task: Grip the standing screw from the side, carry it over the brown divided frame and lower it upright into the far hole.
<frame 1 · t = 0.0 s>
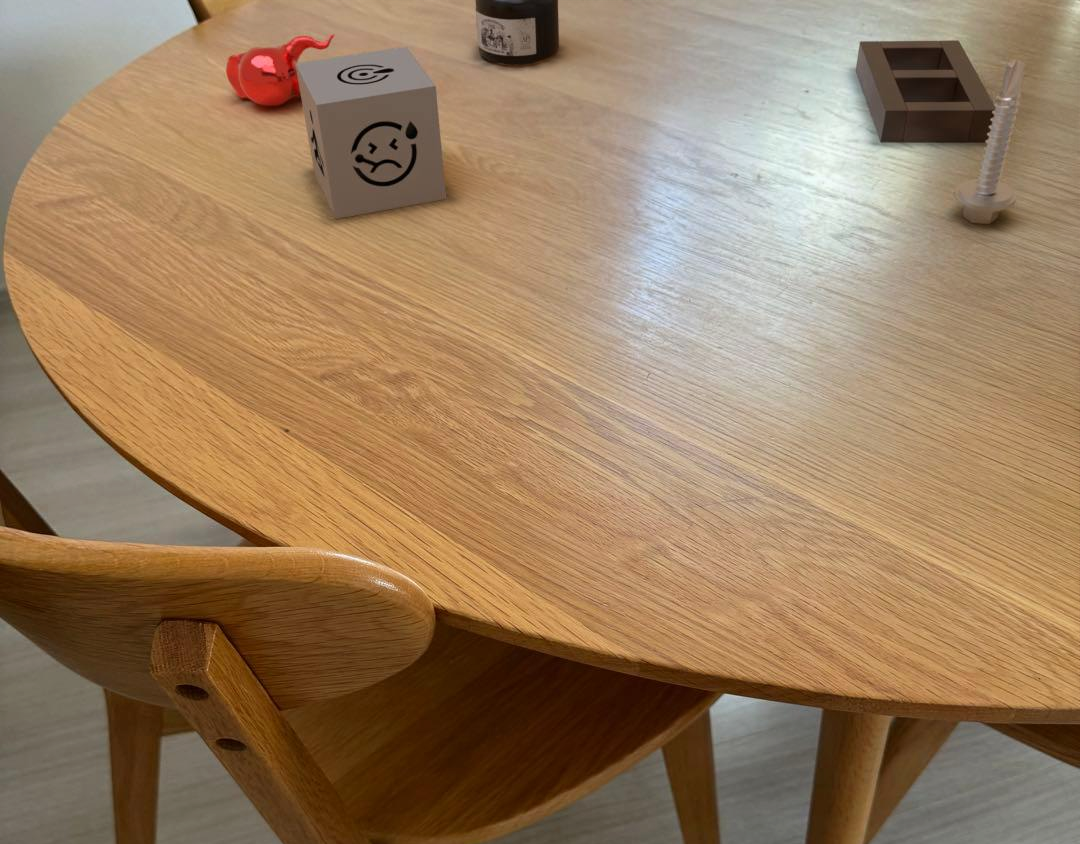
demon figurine: (289, 101, 121), on the table
brown divided frame: (918, 104, 114), on the table
icon cube: (379, 187, 105), on the table
ink bottle: (519, 54, 129), on the table
screw: (979, 219, 97), on the table
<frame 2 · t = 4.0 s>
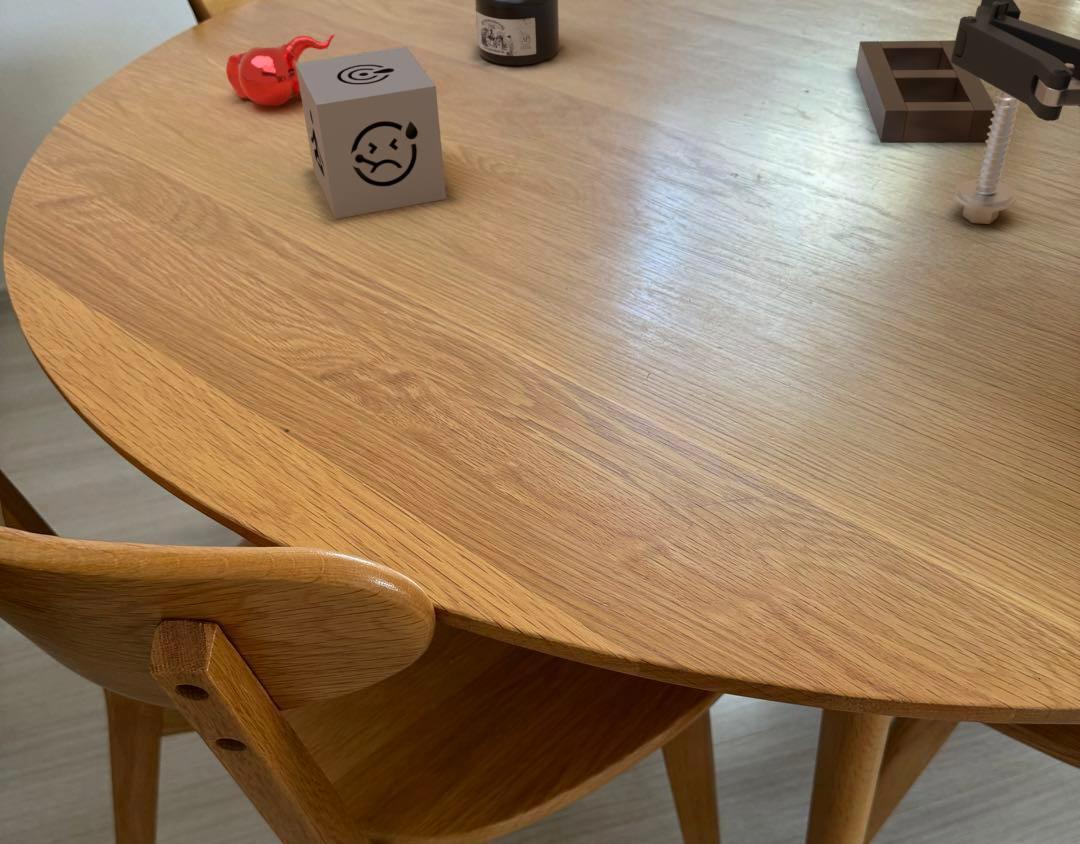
nothing on the table moved.
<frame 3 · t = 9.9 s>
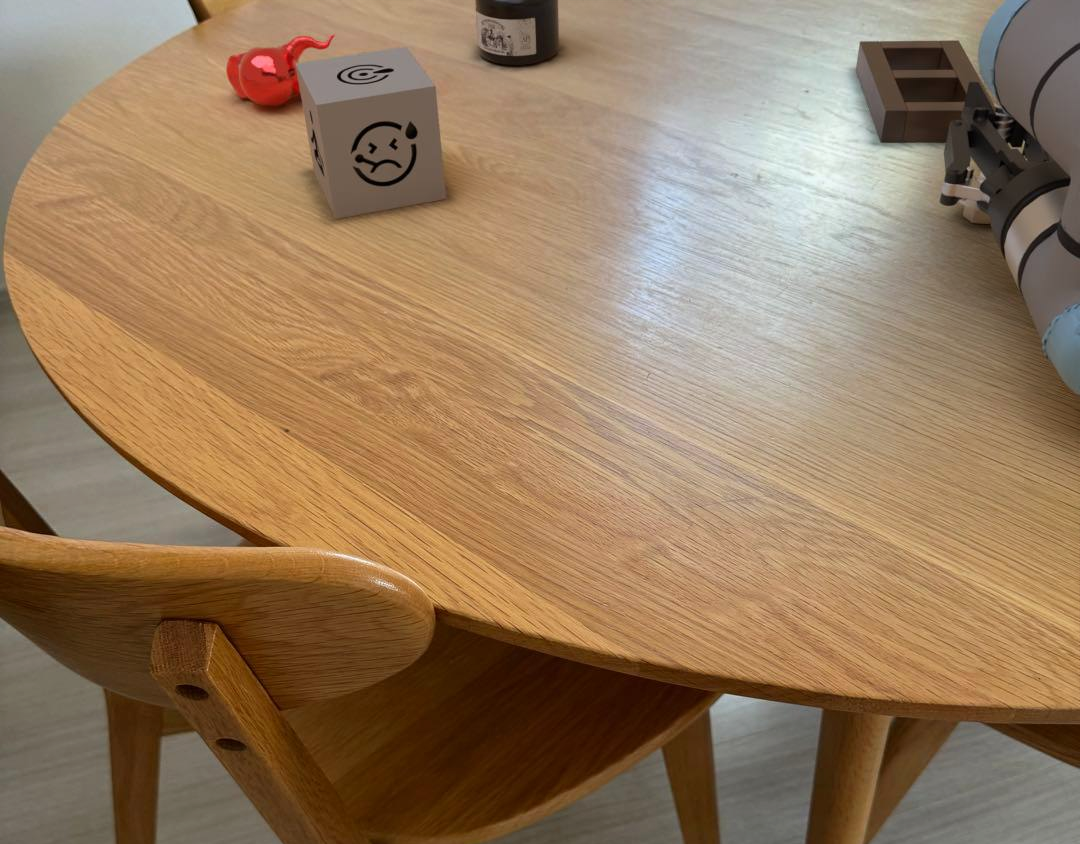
hand: (986, 98, 96), 8 cm above the table, tool horizontal, fingers closed on screw, 2 cm apart
screw: (979, 219, 97), on the table, touching gripper
everything else where it was.
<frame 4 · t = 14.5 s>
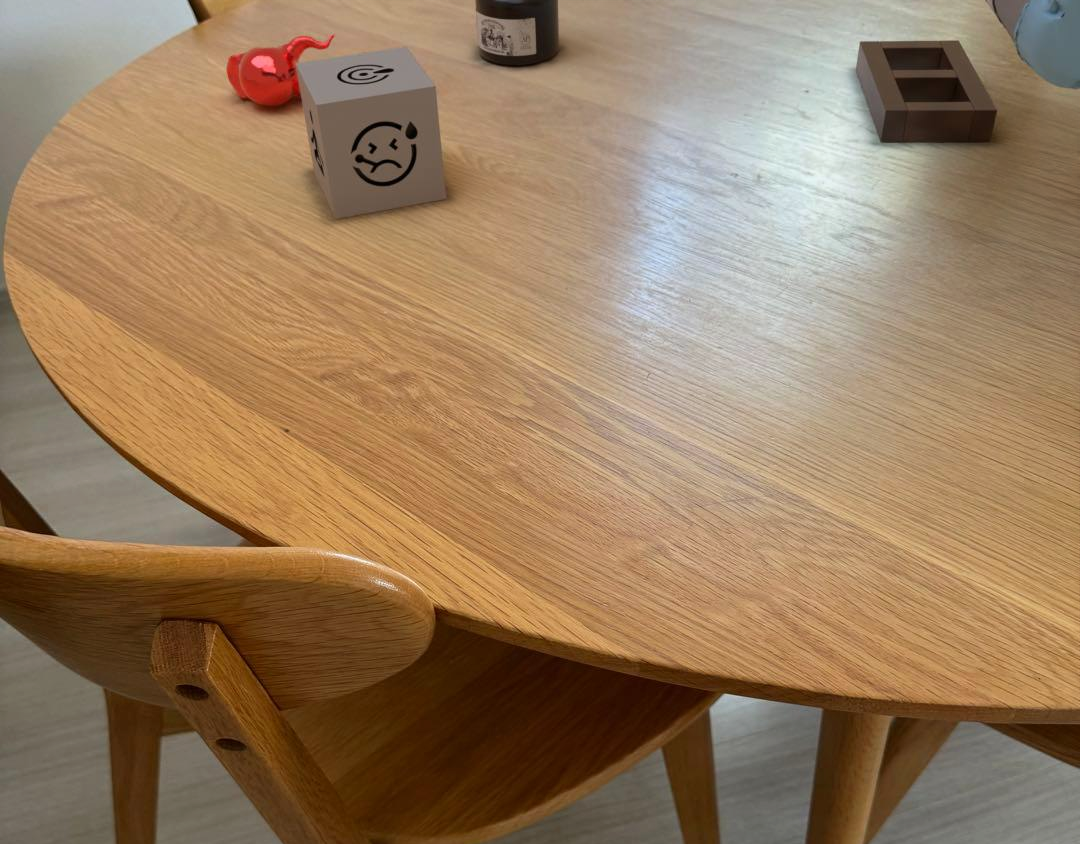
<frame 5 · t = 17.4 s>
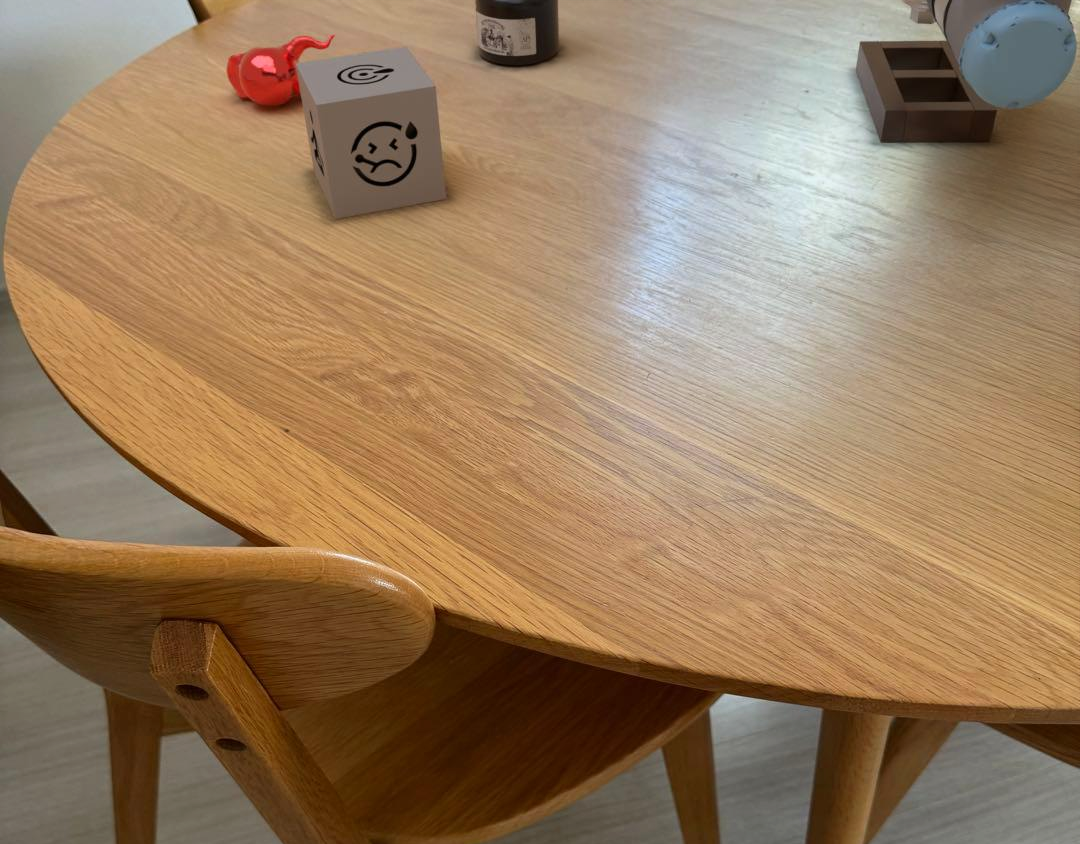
screw: (923, 22, 113), point 6 cm above the table, touching gripper
everything else where it was.
when the fingers open (8 cm above the table, at t = 19.4 s): screw stays where it is, resting in brown divided frame.
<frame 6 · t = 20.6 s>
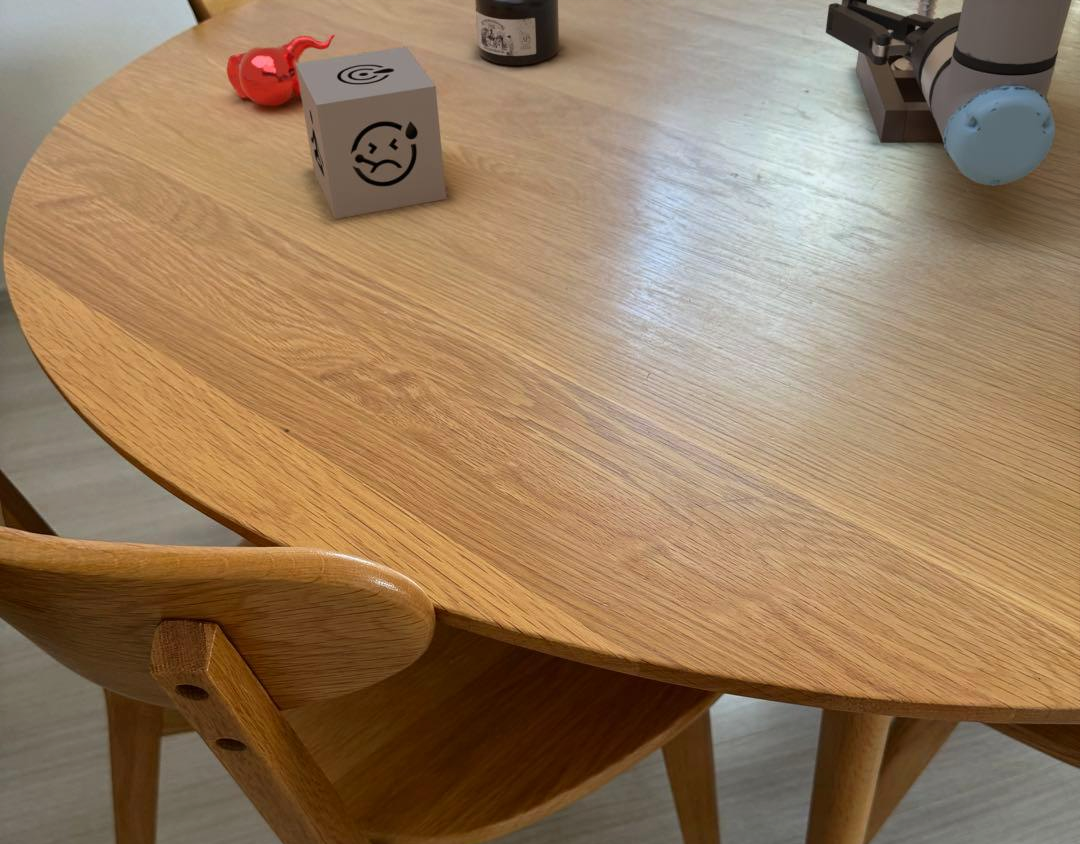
screw: (911, 90, 118), resting in brown divided frame
everything else where it was.
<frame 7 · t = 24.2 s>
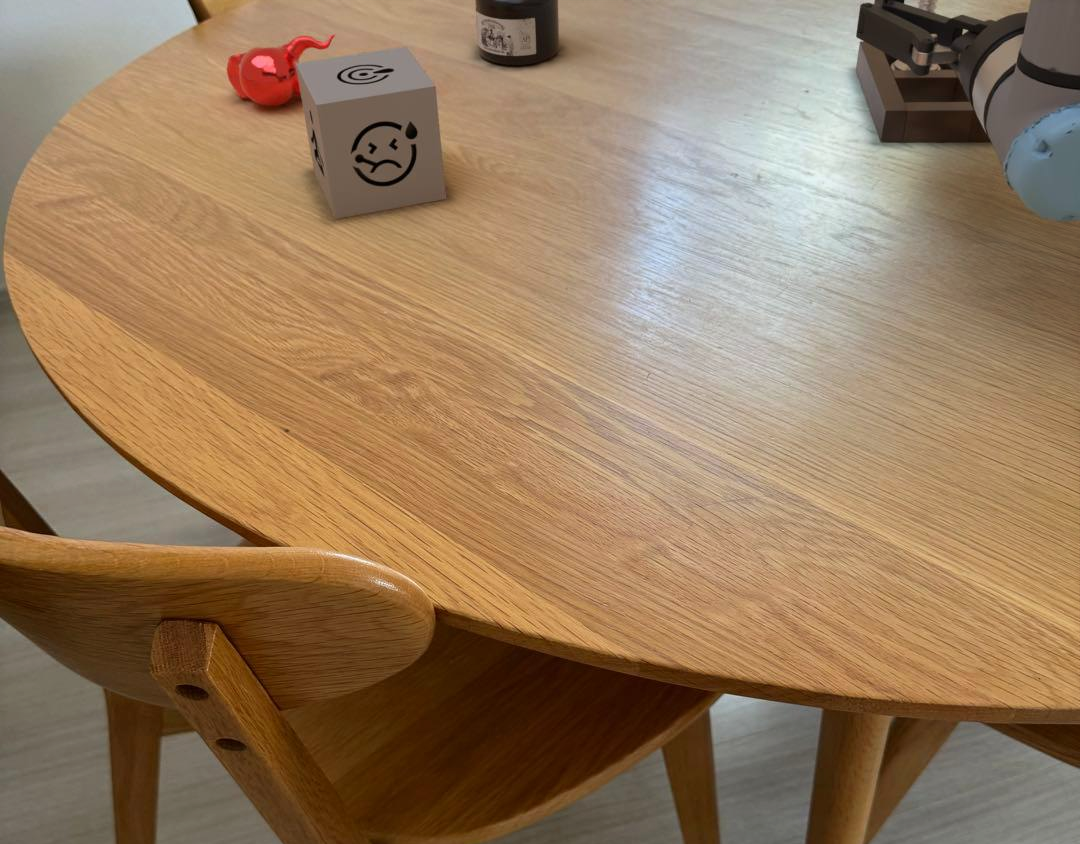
nothing on the table moved.
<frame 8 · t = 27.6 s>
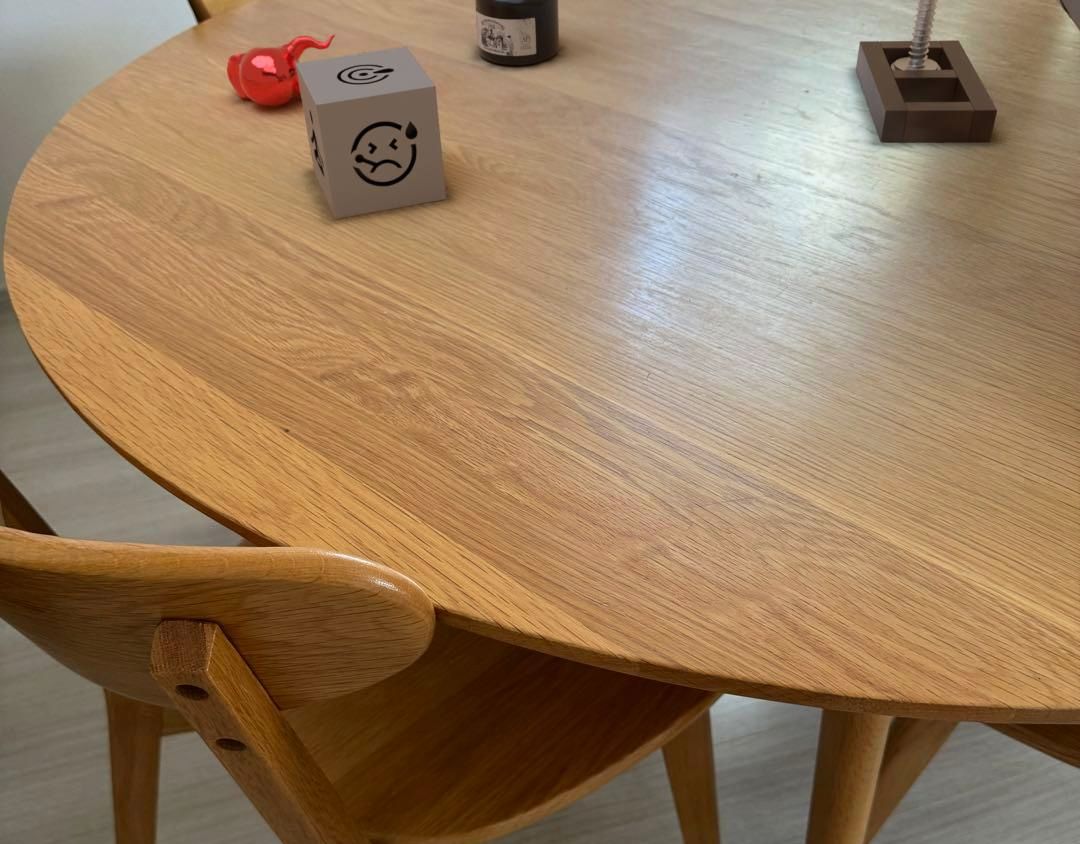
nothing on the table moved.
at the end: screw 0.0 cm from the target spot in the brown divided frame, point 0.0 cm above the brown divided frame's base; screw tilted 0°; the gripper is holding nothing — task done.
